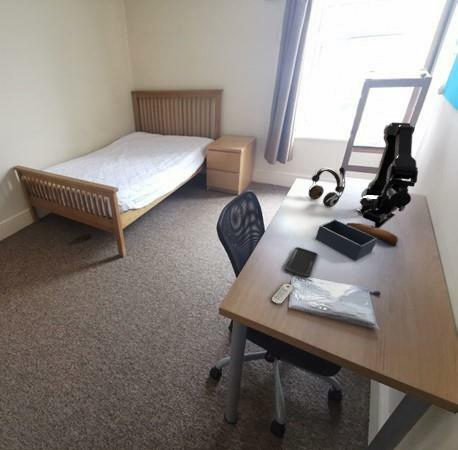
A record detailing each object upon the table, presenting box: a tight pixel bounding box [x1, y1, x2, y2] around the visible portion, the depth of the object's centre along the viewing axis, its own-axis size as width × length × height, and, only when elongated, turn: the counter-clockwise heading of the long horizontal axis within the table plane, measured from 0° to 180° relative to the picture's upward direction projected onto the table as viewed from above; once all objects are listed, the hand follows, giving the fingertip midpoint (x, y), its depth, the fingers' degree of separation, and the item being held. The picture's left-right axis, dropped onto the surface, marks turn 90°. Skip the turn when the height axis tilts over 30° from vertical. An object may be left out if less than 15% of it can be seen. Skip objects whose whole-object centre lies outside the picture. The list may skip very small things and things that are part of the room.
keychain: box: [271, 283, 294, 305], centre depth 88 cm, size 10×1×3 cm
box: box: [315, 218, 378, 262], centre depth 106 cm, size 10×16×6 cm, turn 28°
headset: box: [308, 166, 346, 208], centre depth 133 cm, size 17×8×20 cm, turn 20°
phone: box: [284, 246, 319, 279], centre depth 100 cm, size 8×1×15 cm
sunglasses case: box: [346, 222, 399, 247], centre depth 112 cm, size 18×7×7 cm
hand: (376, 228), depth 114 cm, fingers closed
